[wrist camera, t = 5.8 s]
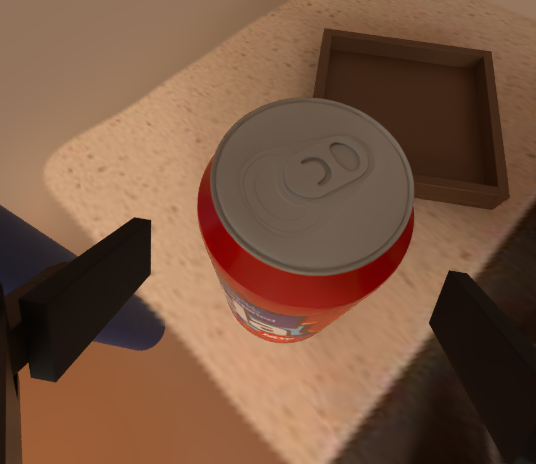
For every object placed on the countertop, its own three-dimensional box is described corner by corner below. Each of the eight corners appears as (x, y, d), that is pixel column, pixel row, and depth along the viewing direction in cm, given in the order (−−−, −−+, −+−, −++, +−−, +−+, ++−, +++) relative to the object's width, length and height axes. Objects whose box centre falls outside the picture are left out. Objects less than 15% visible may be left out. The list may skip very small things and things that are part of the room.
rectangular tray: (300, 179, 28) (304, 165, 26) (320, 47, 34) (324, 28, 32) (492, 210, 27) (510, 197, 26) (478, 70, 34) (491, 51, 32)
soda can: (358, 307, 24) (492, 214, 10) (262, 368, 22) (270, 355, 9) (298, 220, 27) (341, 52, 13) (208, 268, 25) (146, 135, 11)
